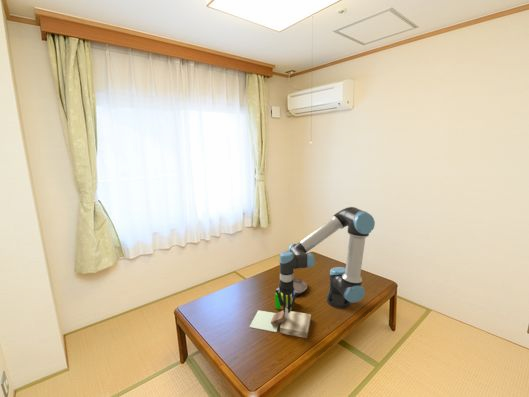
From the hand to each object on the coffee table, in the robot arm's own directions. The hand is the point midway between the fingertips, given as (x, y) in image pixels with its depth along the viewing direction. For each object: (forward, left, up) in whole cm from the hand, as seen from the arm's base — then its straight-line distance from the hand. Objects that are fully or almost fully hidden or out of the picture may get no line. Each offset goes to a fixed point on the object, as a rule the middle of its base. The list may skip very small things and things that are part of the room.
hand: (287, 316), depth 153 cm
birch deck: (-5, 0, -5) cm, 7 cm away
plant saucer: (+4, -39, -6) cm, 40 cm away
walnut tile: (+4, 0, -2) cm, 5 cm away
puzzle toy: (+5, -18, -5) cm, 20 cm away
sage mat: (+12, 0, -5) cm, 13 cm away
